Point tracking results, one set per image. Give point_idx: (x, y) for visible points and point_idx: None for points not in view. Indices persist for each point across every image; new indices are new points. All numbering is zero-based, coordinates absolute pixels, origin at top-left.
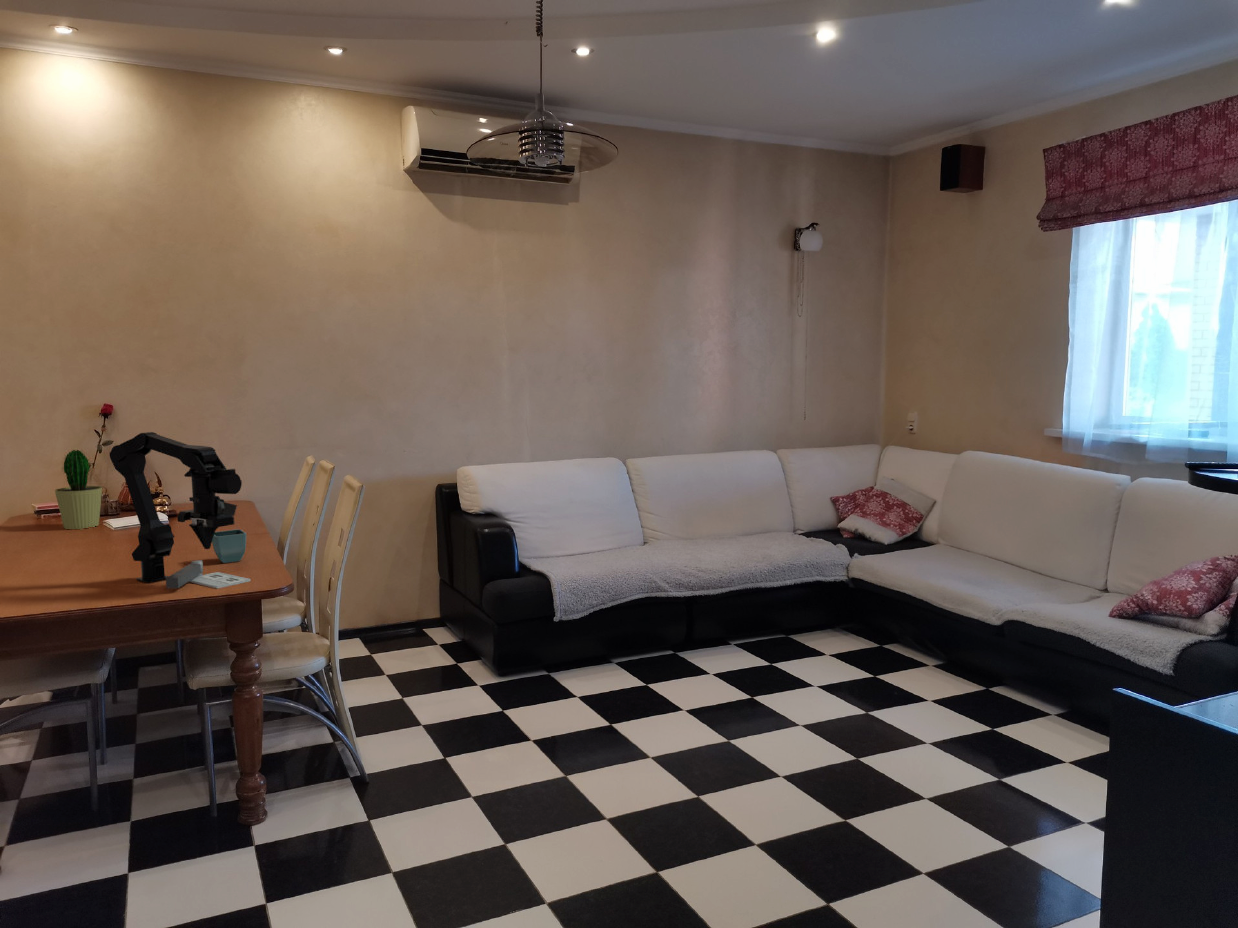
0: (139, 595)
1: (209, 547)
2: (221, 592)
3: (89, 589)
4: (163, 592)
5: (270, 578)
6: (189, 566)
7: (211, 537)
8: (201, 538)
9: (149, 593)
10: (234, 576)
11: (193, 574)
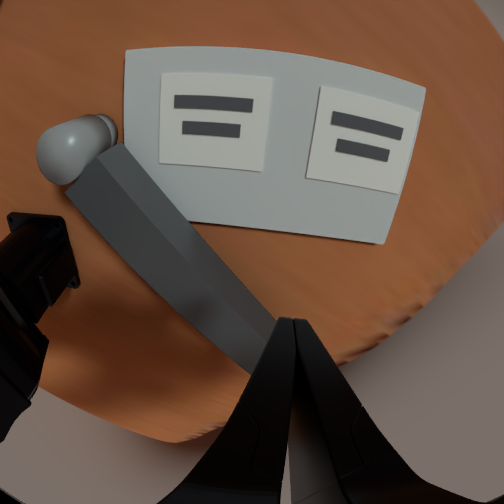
0: (210, 366)
1: (308, 330)
2: (428, 267)
3: (63, 353)
4: None
5: (455, 23)
6: (113, 224)
7: (354, 414)
8: (290, 447)
9: (211, 350)
10: (306, 67)
11: (180, 227)
